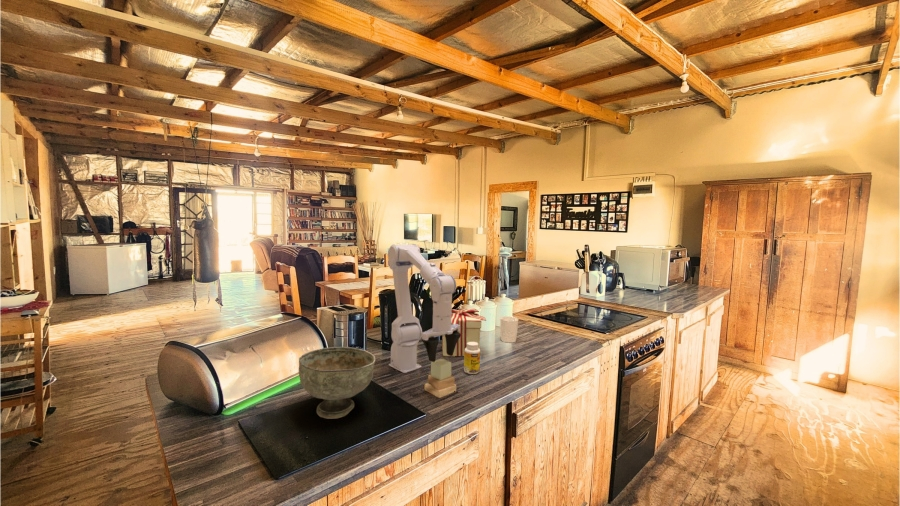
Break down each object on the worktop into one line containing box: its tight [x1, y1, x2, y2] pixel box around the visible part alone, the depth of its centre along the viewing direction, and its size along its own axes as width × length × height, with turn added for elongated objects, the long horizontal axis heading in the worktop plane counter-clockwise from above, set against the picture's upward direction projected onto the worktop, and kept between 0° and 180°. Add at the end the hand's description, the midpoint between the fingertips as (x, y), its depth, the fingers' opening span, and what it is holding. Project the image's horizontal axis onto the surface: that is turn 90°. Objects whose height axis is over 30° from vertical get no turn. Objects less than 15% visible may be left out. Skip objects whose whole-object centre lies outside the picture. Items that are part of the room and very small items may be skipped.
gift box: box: [441, 308, 487, 357], centre depth 149 cm, size 17×18×17 cm
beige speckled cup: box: [499, 315, 519, 344], centre depth 165 cm, size 8×8×10 cm
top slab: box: [427, 374, 456, 390], centre depth 115 cm, size 6×6×2 cm
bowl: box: [298, 346, 376, 420], centre depth 102 cm, size 20×19×15 cm
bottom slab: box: [424, 382, 457, 399], centre depth 115 cm, size 7×7×2 cm
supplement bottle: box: [463, 342, 481, 375], centre depth 130 cm, size 6×6×10 cm
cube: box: [430, 358, 452, 380], centre depth 115 cm, size 4×4×4 cm
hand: (441, 357), depth 115 cm, fingers open, 7 cm apart
